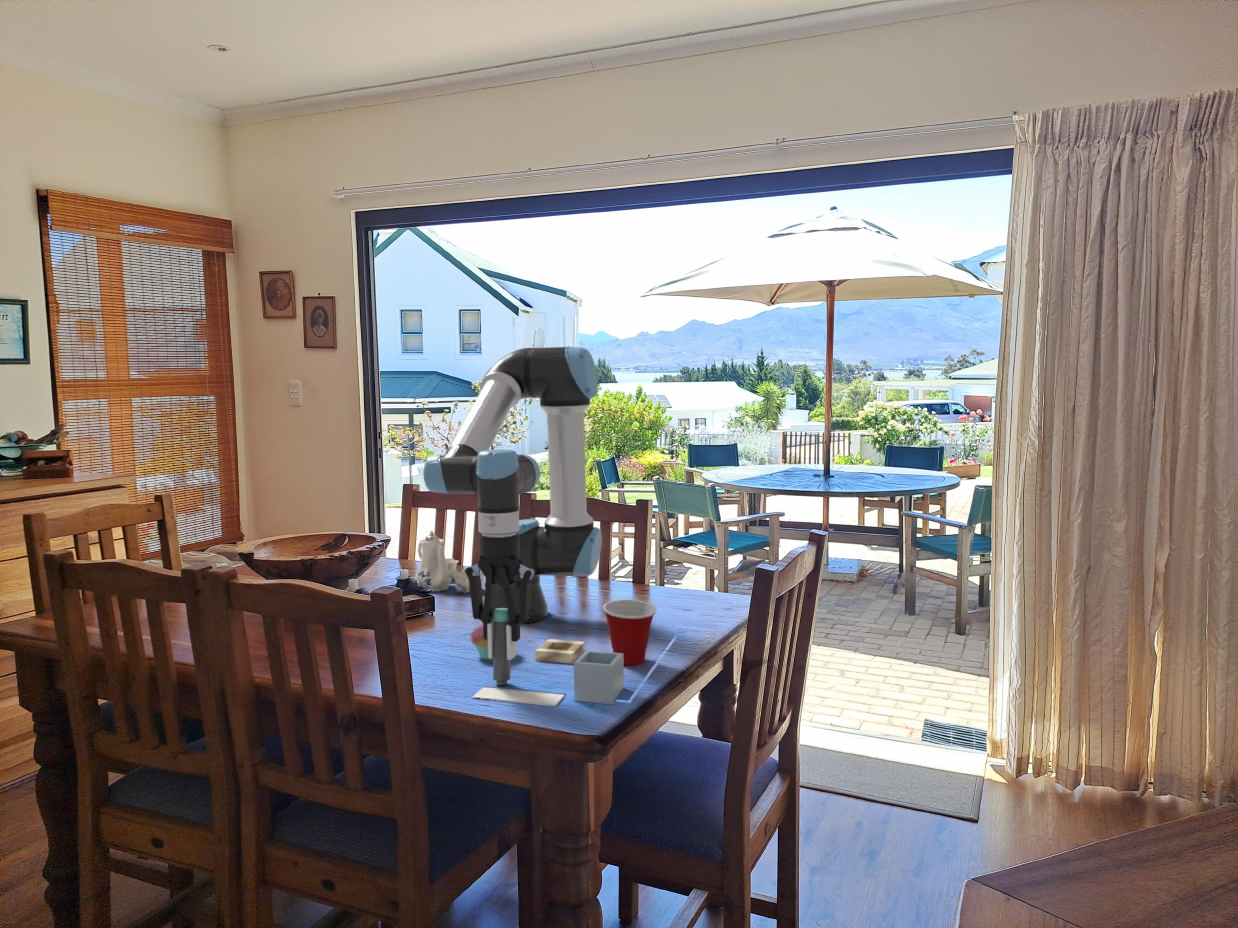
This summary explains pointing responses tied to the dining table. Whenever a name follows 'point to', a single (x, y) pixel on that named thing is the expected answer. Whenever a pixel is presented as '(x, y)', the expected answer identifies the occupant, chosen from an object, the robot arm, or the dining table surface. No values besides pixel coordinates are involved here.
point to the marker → (501, 647)
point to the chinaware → (438, 566)
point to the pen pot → (598, 677)
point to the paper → (519, 696)
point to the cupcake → (480, 642)
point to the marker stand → (560, 651)
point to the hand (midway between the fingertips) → (502, 656)
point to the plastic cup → (629, 628)
